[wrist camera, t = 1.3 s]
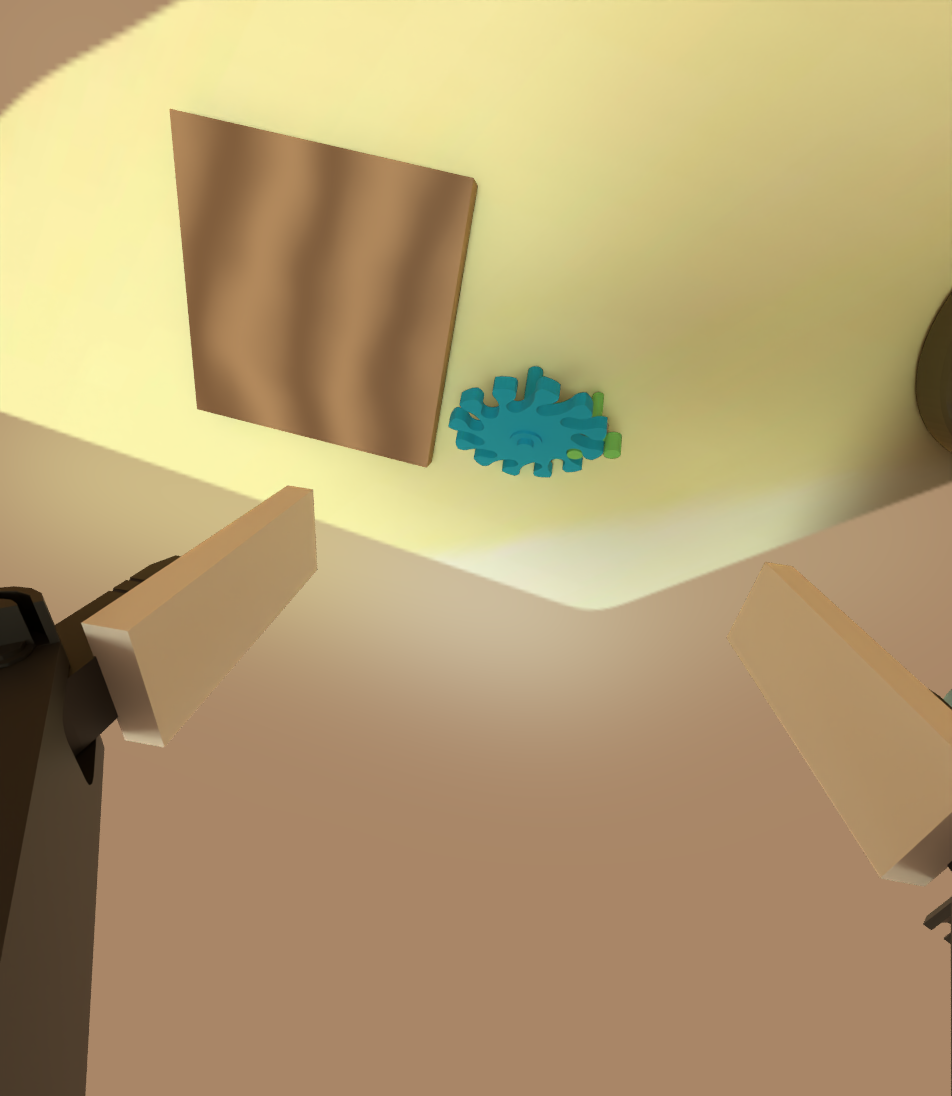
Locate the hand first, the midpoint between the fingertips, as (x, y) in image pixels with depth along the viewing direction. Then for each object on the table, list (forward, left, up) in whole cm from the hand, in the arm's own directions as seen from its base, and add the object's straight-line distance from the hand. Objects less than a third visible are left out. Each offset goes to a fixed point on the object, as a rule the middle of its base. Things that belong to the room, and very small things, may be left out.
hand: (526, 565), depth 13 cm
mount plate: (+16, -4, -21) cm, 27 cm away
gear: (0, 0, -21) cm, 21 cm away
